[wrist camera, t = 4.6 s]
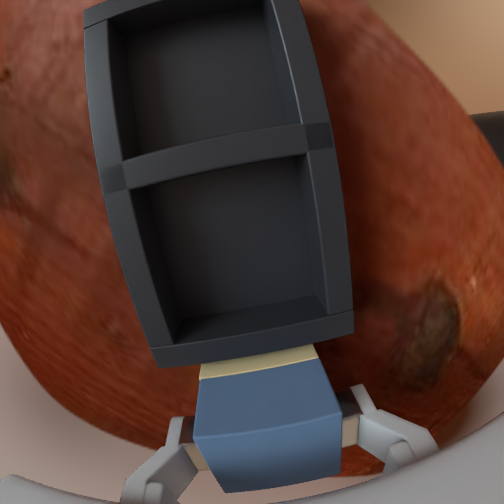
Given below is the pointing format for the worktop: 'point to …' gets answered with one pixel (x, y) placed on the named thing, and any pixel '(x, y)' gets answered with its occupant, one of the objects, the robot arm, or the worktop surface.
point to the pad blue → (269, 427)
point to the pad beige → (258, 362)
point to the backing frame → (219, 175)
